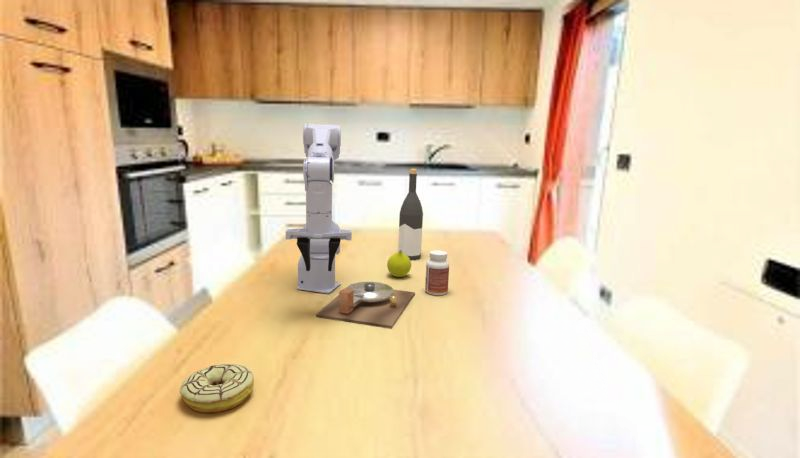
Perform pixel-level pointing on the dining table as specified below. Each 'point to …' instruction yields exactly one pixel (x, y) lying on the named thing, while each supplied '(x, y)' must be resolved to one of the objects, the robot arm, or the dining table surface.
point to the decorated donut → (217, 387)
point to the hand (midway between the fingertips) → (319, 269)
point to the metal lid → (363, 294)
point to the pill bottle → (437, 273)
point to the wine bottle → (411, 221)
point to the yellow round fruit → (399, 264)
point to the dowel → (393, 301)
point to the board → (370, 311)
